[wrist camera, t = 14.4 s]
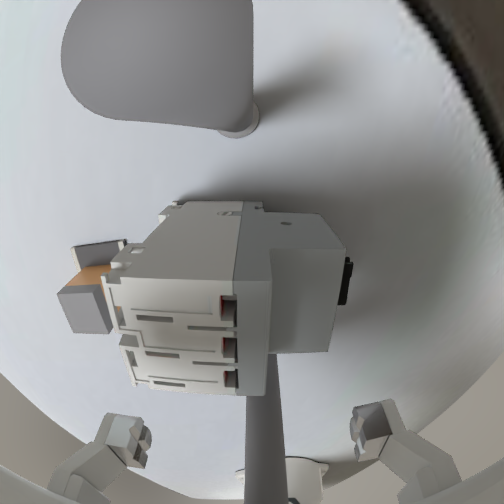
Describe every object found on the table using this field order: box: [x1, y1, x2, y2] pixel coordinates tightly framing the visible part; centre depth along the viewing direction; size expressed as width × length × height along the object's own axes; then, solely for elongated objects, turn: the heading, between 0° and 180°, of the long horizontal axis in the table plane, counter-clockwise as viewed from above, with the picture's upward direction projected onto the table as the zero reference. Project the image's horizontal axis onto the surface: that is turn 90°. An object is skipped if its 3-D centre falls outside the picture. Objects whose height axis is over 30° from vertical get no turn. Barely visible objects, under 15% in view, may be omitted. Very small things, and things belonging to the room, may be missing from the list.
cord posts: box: [61, 0, 289, 504], centre depth 17 cm, size 27×4×22 cm, turn 6°
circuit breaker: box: [101, 201, 353, 396], centre depth 21 cm, size 8×14×15 cm, turn 89°
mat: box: [70, 240, 126, 273], centre depth 29 cm, size 9×7×1 cm
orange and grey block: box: [57, 265, 121, 334], centre depth 26 cm, size 4×4×6 cm
